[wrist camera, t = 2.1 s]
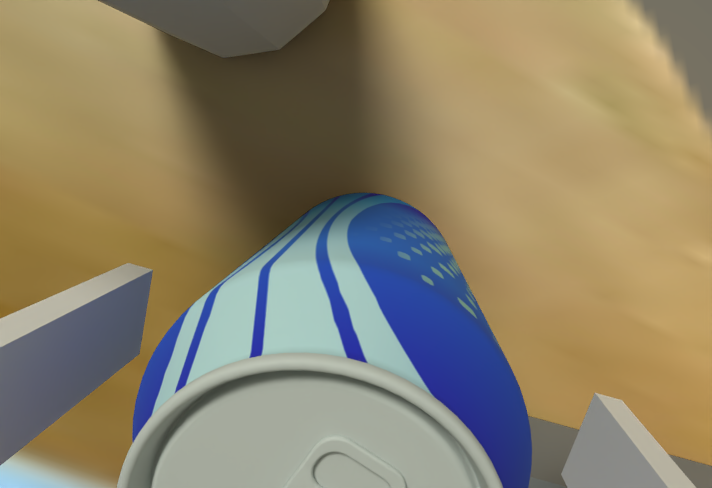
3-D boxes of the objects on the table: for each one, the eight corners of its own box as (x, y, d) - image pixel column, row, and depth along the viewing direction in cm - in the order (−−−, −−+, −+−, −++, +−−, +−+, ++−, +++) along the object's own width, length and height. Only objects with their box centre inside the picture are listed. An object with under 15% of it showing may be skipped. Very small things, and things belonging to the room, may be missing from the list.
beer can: (470, 331, 23) (623, 710, 8) (311, 370, 25) (167, 769, 9) (426, 167, 22) (504, 232, 6) (258, 217, 23) (-26, 376, 7)
